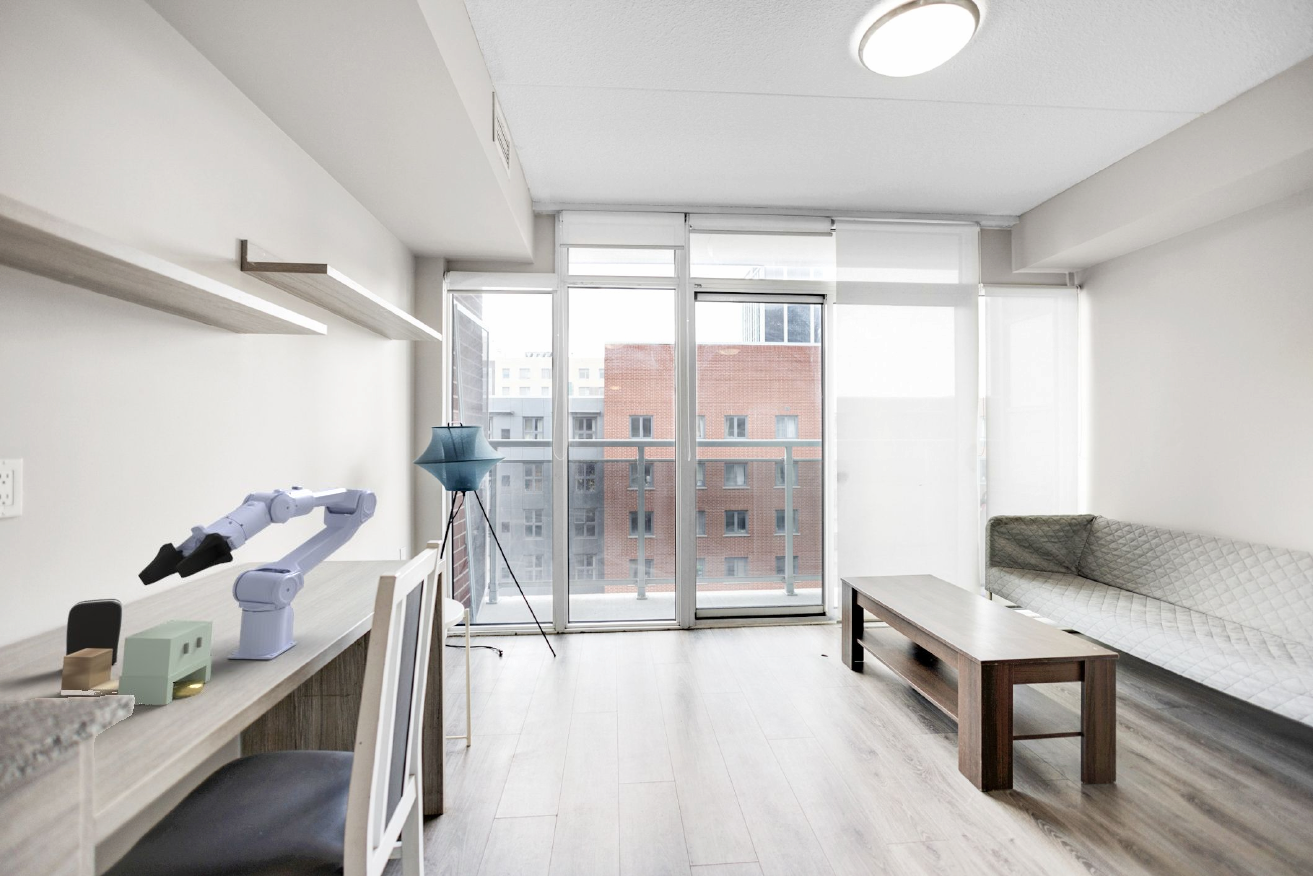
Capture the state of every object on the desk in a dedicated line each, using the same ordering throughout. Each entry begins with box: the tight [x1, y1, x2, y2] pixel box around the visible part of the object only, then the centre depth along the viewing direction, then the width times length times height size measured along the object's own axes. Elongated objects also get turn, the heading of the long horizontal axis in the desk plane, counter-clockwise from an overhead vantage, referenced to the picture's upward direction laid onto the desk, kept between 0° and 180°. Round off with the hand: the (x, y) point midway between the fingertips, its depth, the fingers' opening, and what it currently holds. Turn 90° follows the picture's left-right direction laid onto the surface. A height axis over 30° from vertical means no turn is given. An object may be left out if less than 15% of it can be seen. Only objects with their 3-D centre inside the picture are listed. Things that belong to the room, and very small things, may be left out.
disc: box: [172, 680, 205, 698], centre depth 95 cm, size 4×4×1 cm
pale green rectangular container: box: [118, 619, 213, 706], centre depth 94 cm, size 7×10×10 cm
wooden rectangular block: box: [60, 648, 119, 697], centre depth 94 cm, size 14×4×6 cm, turn 95°
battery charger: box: [65, 598, 123, 665], centre depth 104 cm, size 7×4×11 cm, turn 129°
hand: (161, 576), depth 93 cm, fingers open, 7 cm apart
